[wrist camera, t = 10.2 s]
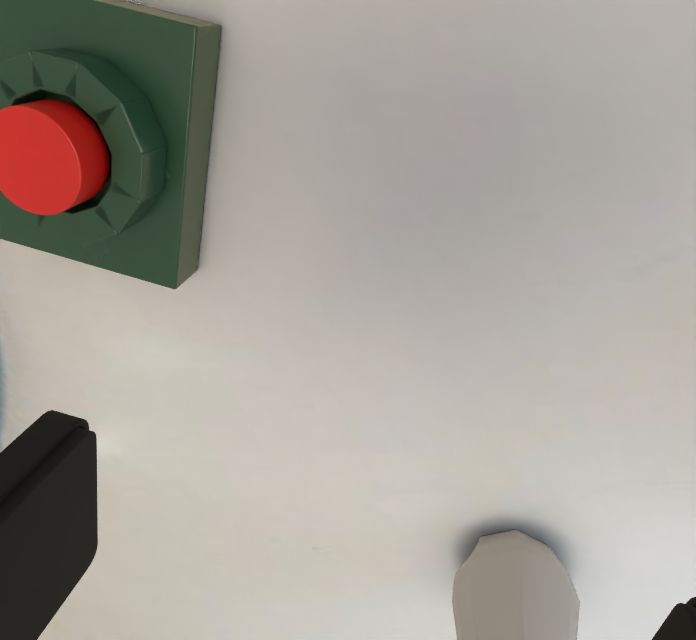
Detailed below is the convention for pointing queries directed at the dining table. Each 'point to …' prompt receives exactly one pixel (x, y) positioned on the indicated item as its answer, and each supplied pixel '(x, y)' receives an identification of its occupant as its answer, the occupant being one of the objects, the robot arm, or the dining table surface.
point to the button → (50, 156)
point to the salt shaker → (514, 592)
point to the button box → (119, 127)
